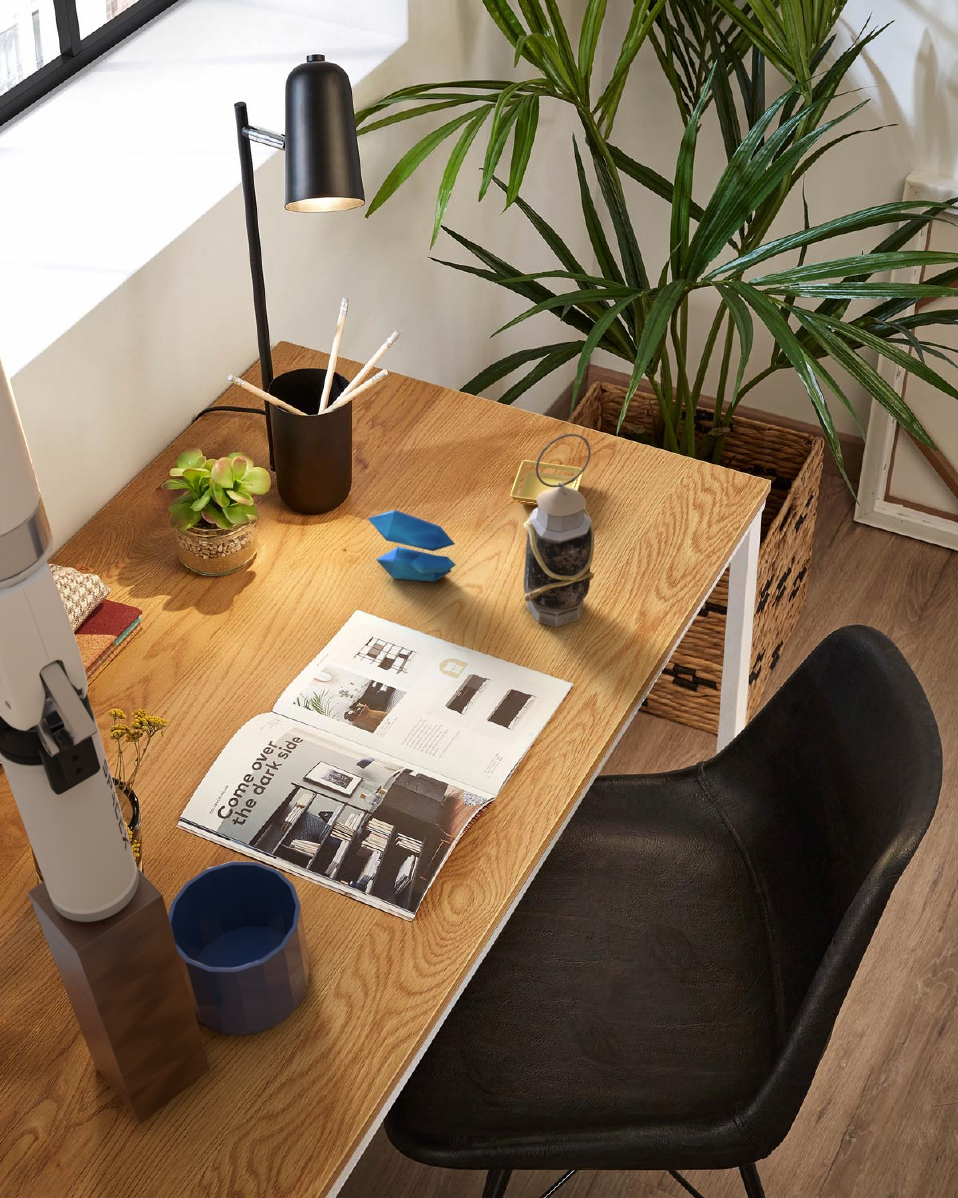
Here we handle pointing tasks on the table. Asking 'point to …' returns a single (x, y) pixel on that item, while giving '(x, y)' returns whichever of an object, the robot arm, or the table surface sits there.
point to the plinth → (129, 997)
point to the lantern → (558, 552)
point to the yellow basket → (535, 487)
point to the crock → (241, 946)
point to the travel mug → (72, 827)
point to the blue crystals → (417, 535)
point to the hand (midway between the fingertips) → (48, 749)
